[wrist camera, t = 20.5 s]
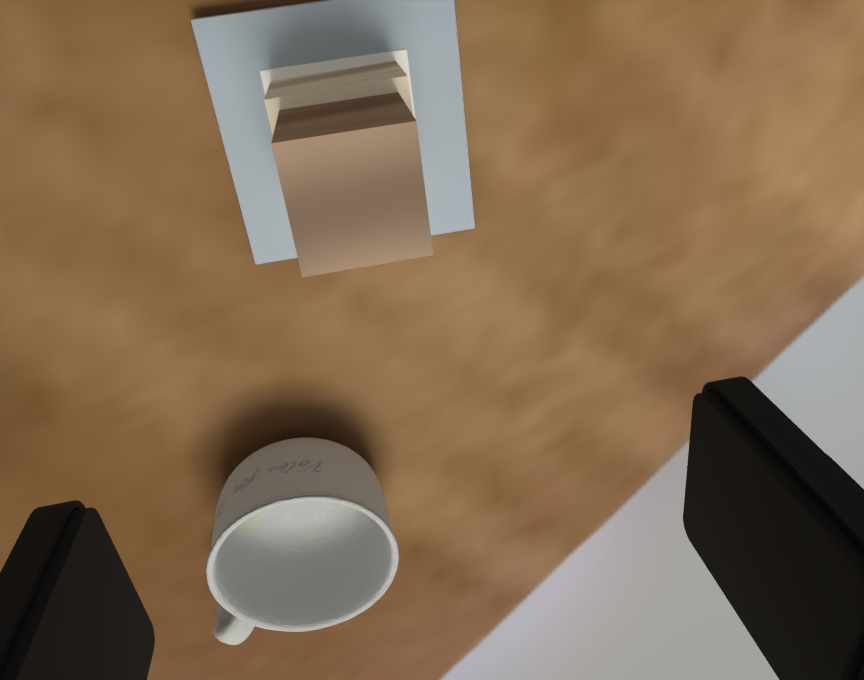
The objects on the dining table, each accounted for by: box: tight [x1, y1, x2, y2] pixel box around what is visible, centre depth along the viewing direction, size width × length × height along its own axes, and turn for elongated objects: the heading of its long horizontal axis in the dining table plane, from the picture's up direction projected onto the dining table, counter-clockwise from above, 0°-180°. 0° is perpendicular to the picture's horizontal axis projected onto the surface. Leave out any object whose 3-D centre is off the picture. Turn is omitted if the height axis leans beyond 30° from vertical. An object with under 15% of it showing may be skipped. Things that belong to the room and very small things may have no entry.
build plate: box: [191, 0, 475, 264], centre depth 35 cm, size 12×12×1 cm
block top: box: [271, 92, 433, 277], centre depth 27 cm, size 5×5×6 cm
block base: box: [264, 61, 413, 135], centre depth 32 cm, size 6×6×5 cm
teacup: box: [206, 438, 399, 645], centre depth 43 cm, size 14×11×8 cm
